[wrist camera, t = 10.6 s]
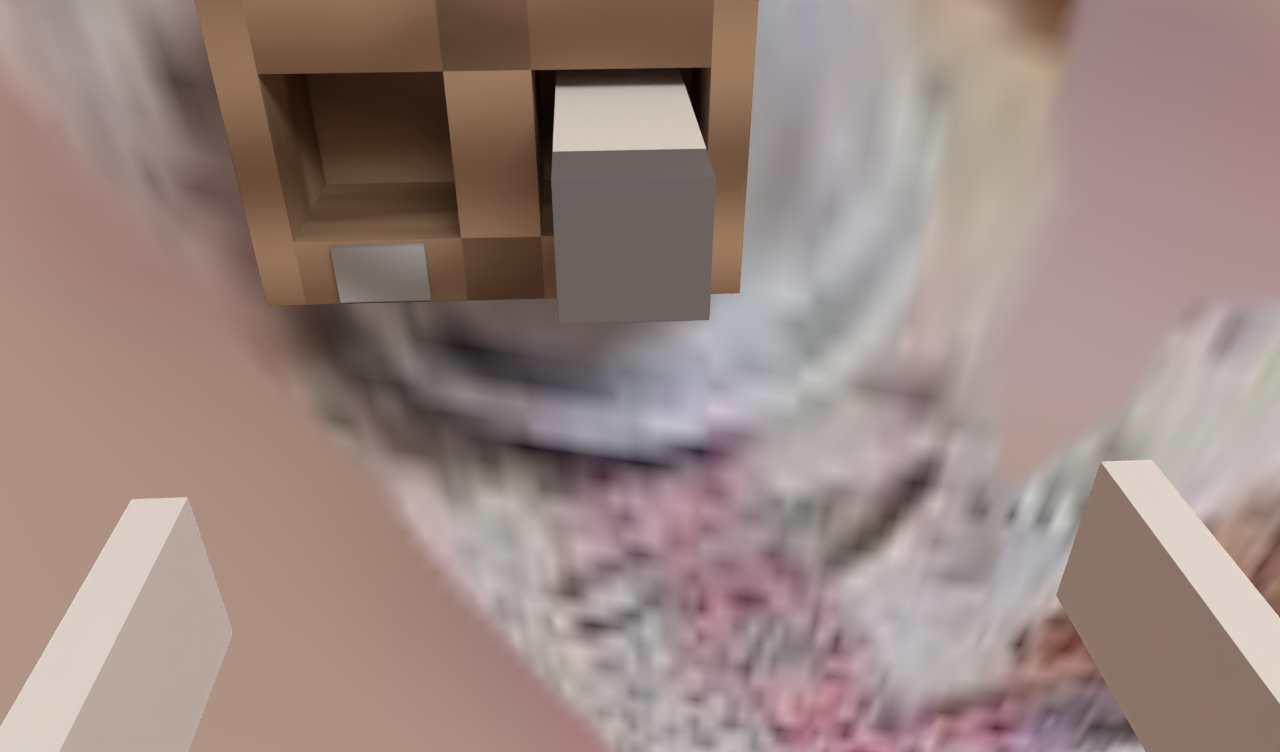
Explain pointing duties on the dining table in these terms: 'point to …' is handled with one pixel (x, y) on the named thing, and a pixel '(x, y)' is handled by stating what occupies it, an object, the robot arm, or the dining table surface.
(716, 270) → the socket block
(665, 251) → the plug
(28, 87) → the dining table surface
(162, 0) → the dining table surface
